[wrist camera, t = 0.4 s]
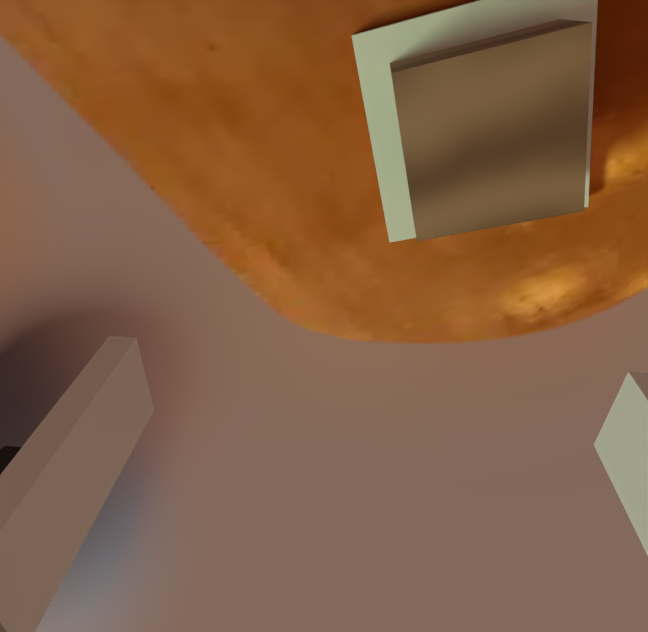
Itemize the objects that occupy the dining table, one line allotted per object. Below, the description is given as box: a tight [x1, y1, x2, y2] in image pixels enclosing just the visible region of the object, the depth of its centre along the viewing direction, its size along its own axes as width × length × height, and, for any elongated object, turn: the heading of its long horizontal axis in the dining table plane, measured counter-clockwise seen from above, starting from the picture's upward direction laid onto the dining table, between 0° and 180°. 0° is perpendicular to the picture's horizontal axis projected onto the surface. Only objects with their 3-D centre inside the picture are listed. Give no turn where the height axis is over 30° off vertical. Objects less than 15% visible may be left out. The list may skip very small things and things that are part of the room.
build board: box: [352, 0, 598, 242], centre depth 32 cm, size 14×14×2 cm
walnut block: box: [390, 19, 592, 241], centre depth 30 cm, size 10×10×5 cm
